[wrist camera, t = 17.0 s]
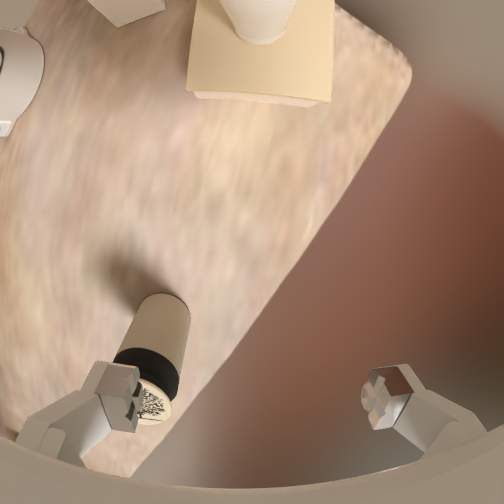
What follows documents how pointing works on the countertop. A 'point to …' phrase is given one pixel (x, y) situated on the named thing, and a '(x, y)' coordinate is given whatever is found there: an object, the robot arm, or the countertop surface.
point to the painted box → (263, 58)
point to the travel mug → (157, 353)
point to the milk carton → (127, 9)
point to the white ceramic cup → (259, 18)
